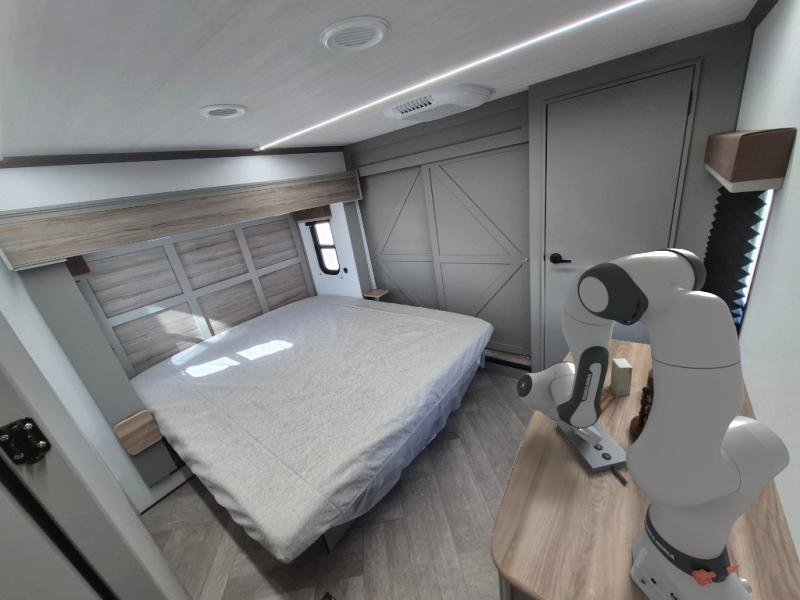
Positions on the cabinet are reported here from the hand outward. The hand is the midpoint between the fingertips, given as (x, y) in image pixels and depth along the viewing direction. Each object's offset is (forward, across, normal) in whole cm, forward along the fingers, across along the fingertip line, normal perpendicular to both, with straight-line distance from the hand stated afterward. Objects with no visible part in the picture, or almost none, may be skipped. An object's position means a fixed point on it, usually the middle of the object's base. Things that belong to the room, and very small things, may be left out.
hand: (587, 423), depth 99 cm
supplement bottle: (+28, +11, -20) cm, 37 cm away
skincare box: (+21, +16, -13) cm, 30 cm away
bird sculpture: (+12, +14, -4) cm, 19 cm away
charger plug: (+3, 0, +4) cm, 5 cm away
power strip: (+3, -6, +4) cm, 8 cm away
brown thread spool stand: (+18, -6, -10) cm, 21 cm away
